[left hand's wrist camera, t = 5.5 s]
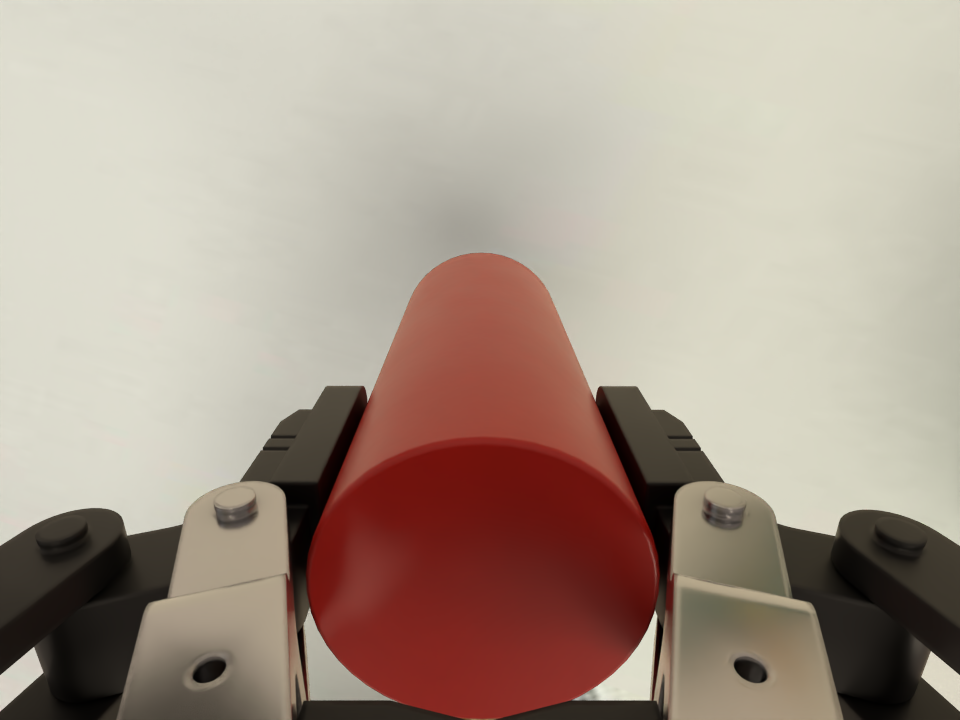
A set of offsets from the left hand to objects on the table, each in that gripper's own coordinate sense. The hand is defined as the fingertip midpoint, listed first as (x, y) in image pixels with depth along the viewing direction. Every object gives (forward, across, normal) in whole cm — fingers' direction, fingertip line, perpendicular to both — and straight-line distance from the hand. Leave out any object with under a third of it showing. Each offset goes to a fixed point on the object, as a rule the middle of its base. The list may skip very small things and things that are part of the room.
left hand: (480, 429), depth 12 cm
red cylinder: (+7, 0, 0) cm, 7 cm away
